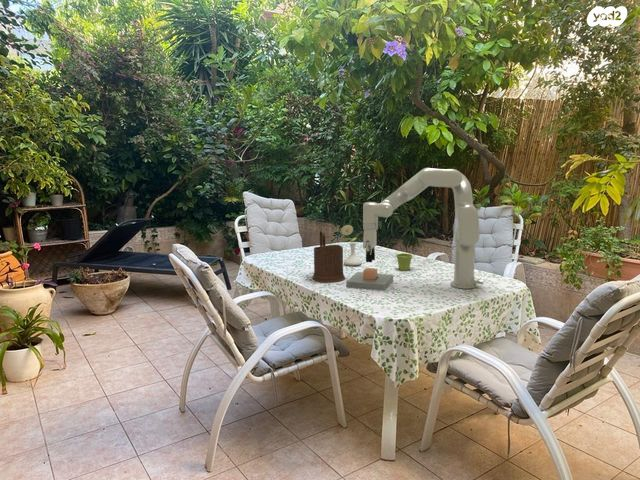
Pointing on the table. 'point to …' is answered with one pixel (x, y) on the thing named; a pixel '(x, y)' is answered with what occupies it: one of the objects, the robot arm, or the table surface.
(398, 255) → the plant pot
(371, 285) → the socket
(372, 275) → the plug
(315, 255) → the brown cylinder
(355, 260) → the flower in vase
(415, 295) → the table surface
